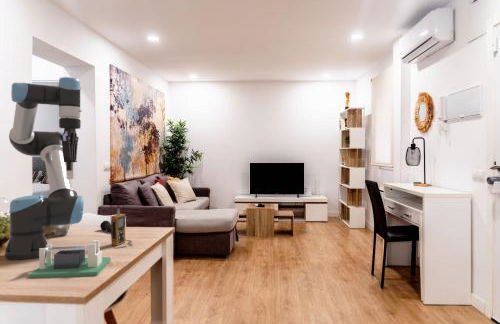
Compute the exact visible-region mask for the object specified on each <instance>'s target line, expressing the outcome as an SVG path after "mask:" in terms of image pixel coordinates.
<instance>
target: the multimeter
mask: <svg viewBox="0 0 500 324" xmlns="http://www.w3.org/2000/svg"><path fill="white" fill-rule="evenodd" d="M120 200H121V201H122V205H123V207H122V213H120V210H119V208H117V210H116V211H117V212H116V214H115V215H111V216H110V224H111V232H110V236H111V237H110V238H111V246H112V248H113V249H116V246H118V247H117V249H120V248H126V247H130V246H135V245H134V244H133V243H132V240H128V239H126V214H125V210H124V209H125V205H124V200H123V199H121V198H118V200H117V202H116V204H117V206H119V204H120ZM113 203H114V201H112V202H111V204H110V208H112V206H113ZM125 242H127V244H128V245H122V246H119V245H121V244H124V243H125Z"/></svg>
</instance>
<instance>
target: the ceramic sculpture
mask: <svg viewBox="0 0 500 324" xmlns="http://www.w3.org/2000/svg"><path fill="white" fill-rule="evenodd" d="M69 230H70V225H69V224H68V225H57V226H47V227H44V235H45V238H55V237H57V236H60V235H61V236H66V235H68V233H69Z"/></svg>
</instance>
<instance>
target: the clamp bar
mask: <svg viewBox="0 0 500 324" xmlns="http://www.w3.org/2000/svg"><path fill="white" fill-rule="evenodd" d="M84 249H85V250H88V245H75V246H73V245H72V246H71V245H70V246H56V247H55V246H52V247H51V248H50V246H46V247H45V252H47V251H52V252H59V251H65V250H84Z"/></svg>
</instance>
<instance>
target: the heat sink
mask: <svg viewBox="0 0 500 324" xmlns="http://www.w3.org/2000/svg"><path fill="white" fill-rule="evenodd" d="M85 258H86V249H84V250H65V251H56V253H54V254H53V259H54V266H53V269H69V268H79V267H80V266H81V265H82V264H83V263H84V262H85Z"/></svg>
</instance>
